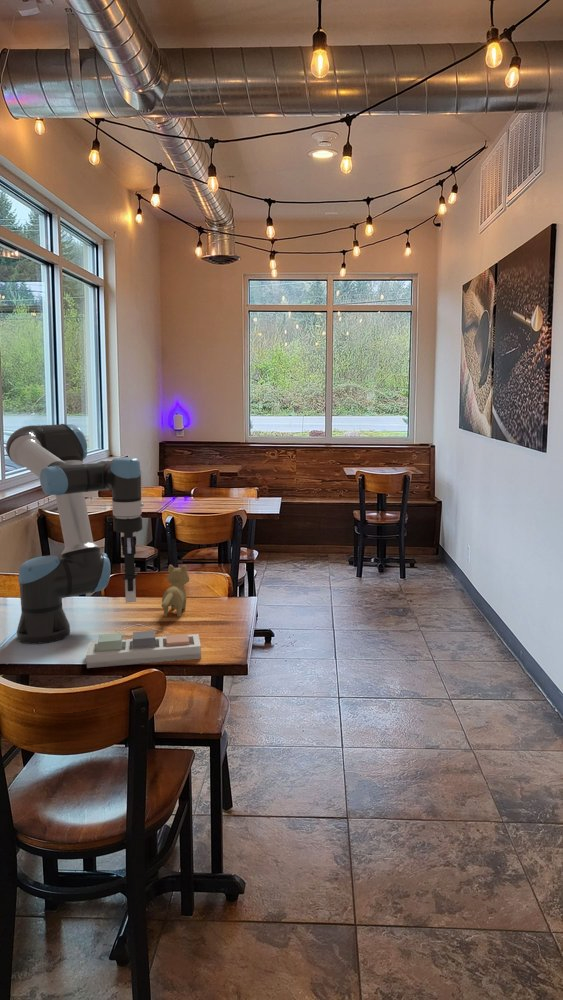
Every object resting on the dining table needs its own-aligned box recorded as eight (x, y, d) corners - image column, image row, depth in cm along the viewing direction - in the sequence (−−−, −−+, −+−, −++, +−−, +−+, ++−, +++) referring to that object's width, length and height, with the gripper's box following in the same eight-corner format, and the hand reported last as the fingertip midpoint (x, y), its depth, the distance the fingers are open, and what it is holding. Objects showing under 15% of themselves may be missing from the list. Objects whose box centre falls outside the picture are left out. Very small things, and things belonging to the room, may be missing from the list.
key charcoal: (132, 647, 187) (132, 639, 187) (133, 640, 193) (133, 632, 193) (155, 646, 188) (155, 637, 188) (155, 638, 194) (155, 630, 194)
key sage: (98, 650, 185) (97, 642, 185) (99, 642, 191) (99, 634, 191) (121, 648, 187) (121, 640, 186) (122, 641, 192) (121, 632, 192)
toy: (193, 604, 239) (191, 561, 237) (175, 627, 215) (173, 580, 213) (172, 603, 240) (170, 561, 237) (152, 627, 216) (150, 579, 213)
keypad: (86, 668, 184) (86, 655, 183) (90, 654, 193) (89, 642, 193) (201, 658, 189) (200, 646, 188) (198, 645, 199) (198, 633, 198)
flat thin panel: (147, 641, 203) (115, 631, 212) (147, 642, 203) (115, 632, 212) (170, 633, 210) (138, 623, 219) (170, 634, 210) (138, 625, 219)
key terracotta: (167, 651, 189) (166, 643, 189) (166, 643, 195) (166, 635, 194) (189, 649, 190) (189, 641, 190) (188, 642, 196) (187, 633, 196)
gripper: (143, 520, 180) (146, 607, 184) (141, 510, 192) (143, 593, 196) (113, 521, 178) (116, 610, 182) (113, 512, 190) (116, 595, 194)
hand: (130, 601), depth 189 cm, fingers closed
